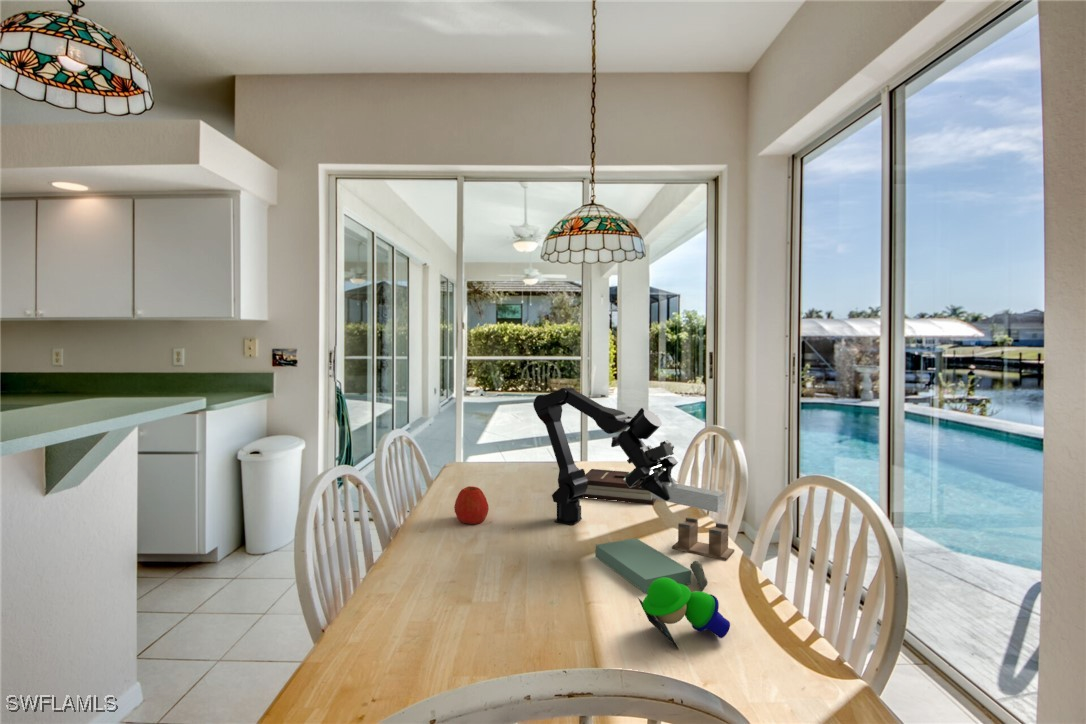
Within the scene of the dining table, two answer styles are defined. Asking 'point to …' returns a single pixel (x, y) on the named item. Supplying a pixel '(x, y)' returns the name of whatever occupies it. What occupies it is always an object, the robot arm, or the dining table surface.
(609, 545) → the green rectangular slab
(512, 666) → the dining table surface
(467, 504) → the apple
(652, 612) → the toy
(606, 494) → the decorative book
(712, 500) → the rail
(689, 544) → the rack
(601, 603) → the dining table surface
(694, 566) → the stone
